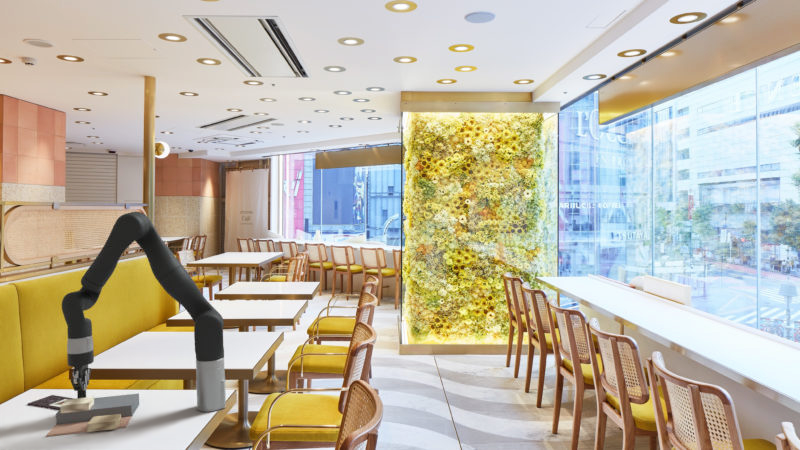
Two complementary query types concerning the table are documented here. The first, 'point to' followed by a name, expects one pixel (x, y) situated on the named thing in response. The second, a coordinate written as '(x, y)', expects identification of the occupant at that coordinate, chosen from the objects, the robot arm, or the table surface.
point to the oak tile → (104, 422)
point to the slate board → (102, 409)
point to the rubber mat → (79, 427)
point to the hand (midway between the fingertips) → (82, 400)
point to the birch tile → (77, 405)
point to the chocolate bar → (50, 402)
